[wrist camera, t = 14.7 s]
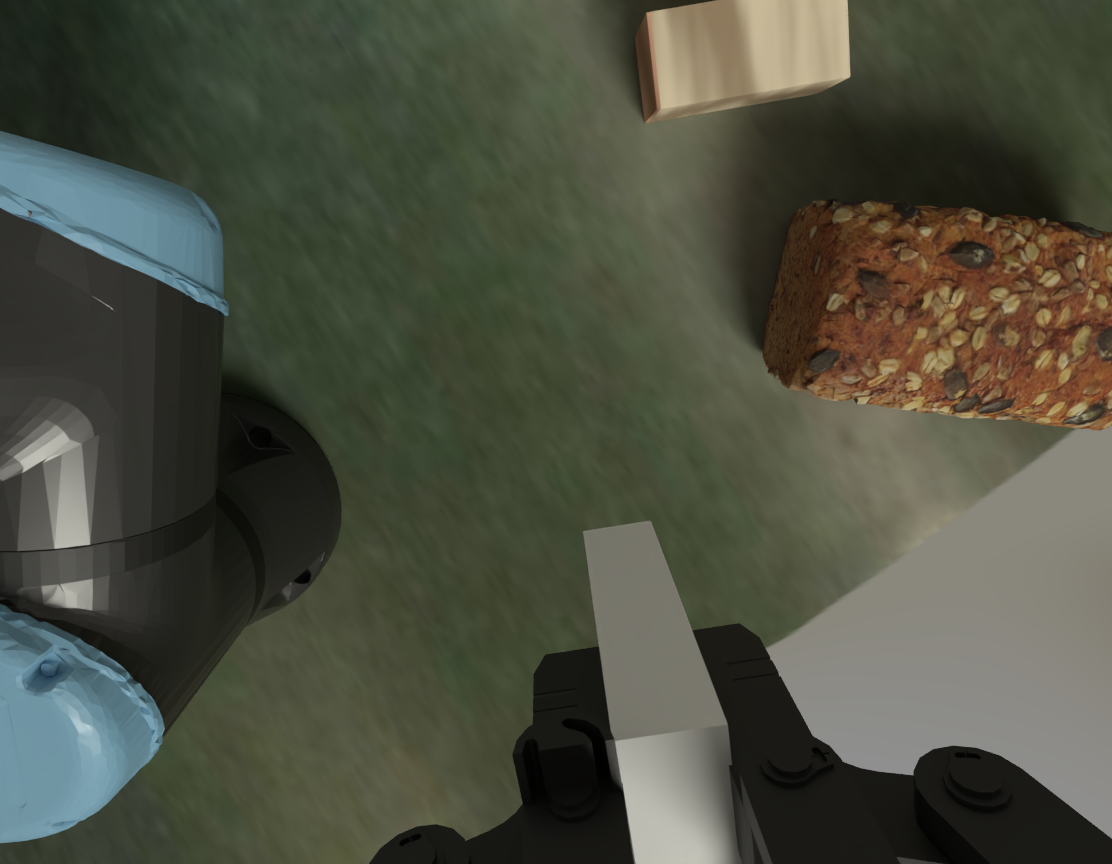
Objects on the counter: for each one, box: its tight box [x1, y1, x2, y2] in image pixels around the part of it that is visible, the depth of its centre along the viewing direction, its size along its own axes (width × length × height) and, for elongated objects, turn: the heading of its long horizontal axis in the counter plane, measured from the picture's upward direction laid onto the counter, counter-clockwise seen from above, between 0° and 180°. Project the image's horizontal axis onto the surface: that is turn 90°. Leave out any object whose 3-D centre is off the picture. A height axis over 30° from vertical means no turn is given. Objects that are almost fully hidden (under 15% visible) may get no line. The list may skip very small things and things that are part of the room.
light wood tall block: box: [635, 0, 850, 123], centre depth 37 cm, size 4×4×10 cm
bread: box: [763, 199, 1112, 430], centre depth 39 cm, size 19×11×10 cm, turn 82°
